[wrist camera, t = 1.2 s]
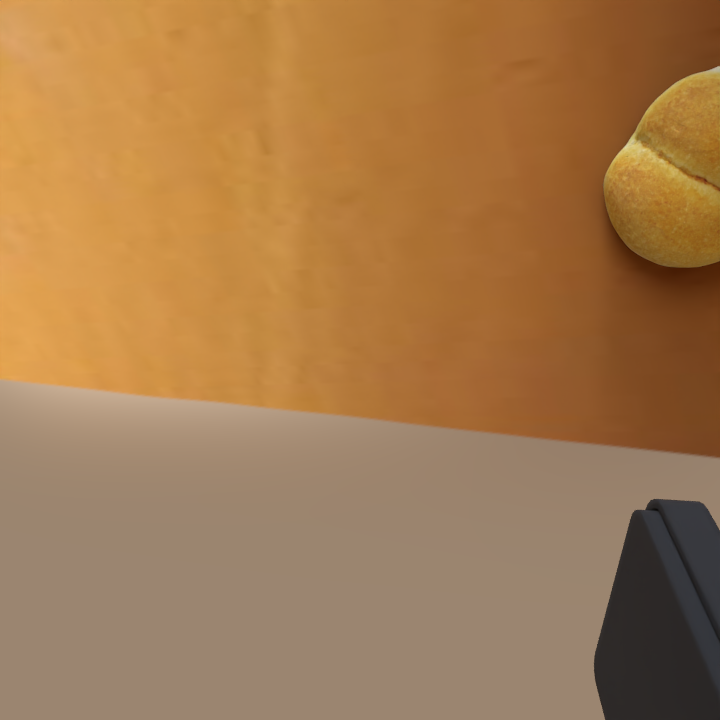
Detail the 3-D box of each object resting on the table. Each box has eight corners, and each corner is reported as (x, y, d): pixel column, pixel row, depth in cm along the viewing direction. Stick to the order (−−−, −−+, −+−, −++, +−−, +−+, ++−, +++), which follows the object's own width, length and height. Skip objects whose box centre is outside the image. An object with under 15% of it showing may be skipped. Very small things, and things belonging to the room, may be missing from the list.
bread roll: (570, 215, 35) (587, 240, 31) (684, 39, 31) (718, 45, 27) (705, 284, 36) (737, 316, 33) (832, 124, 32) (883, 140, 28)
